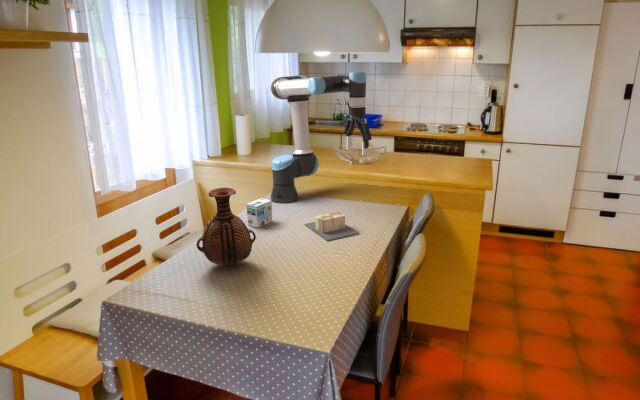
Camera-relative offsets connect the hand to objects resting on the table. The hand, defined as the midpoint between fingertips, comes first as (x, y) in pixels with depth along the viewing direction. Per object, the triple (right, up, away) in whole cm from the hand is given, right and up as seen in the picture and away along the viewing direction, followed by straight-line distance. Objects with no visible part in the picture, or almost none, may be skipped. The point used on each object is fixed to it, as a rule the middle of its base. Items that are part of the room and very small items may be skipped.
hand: (357, 152), depth 221 cm
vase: (-53, -48, -40) cm, 82 cm away
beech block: (-7, -32, -6) cm, 33 cm away
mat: (-12, -36, -7) cm, 39 cm away
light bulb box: (-46, -34, +2) cm, 57 cm away
